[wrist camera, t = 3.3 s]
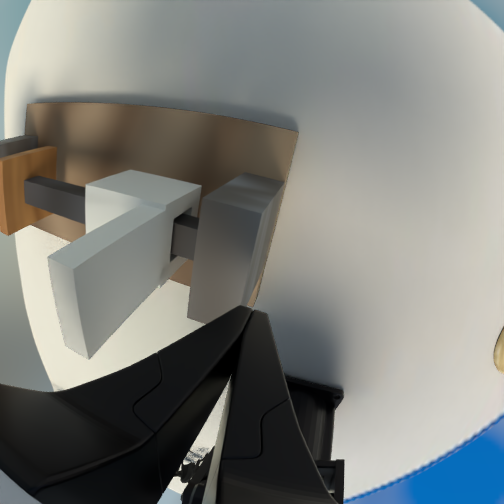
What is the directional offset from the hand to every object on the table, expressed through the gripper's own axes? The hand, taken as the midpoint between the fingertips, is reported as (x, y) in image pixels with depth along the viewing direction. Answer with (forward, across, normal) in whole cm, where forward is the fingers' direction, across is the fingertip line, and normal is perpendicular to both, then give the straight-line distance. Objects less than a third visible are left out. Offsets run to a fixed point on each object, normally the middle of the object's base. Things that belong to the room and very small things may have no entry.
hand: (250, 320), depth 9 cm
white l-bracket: (+6, +6, 0) cm, 8 cm away
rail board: (+8, +11, 0) cm, 14 cm away
